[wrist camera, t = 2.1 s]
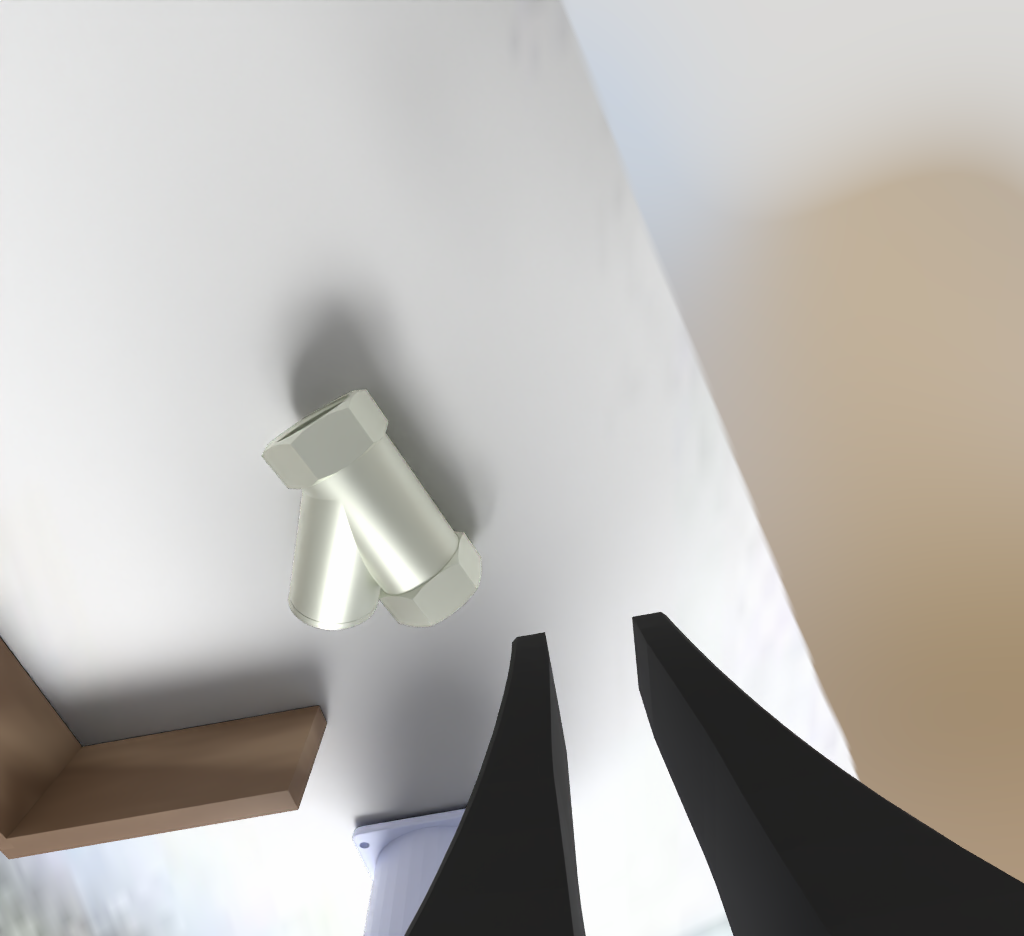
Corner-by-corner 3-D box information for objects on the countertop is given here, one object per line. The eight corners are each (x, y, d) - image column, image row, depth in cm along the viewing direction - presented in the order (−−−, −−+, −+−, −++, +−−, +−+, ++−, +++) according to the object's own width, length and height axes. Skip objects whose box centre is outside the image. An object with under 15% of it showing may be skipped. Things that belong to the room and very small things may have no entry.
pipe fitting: (351, 606, 22) (484, 545, 20) (319, 677, 18) (477, 610, 17) (226, 460, 19) (371, 377, 17) (159, 512, 15) (334, 413, 14)
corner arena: (327, 723, 23) (298, 809, 20) (70, 768, 24) (-6, 861, 20) (187, 413, 17) (107, 454, 14) (-158, 476, 17) (-329, 534, 14)
